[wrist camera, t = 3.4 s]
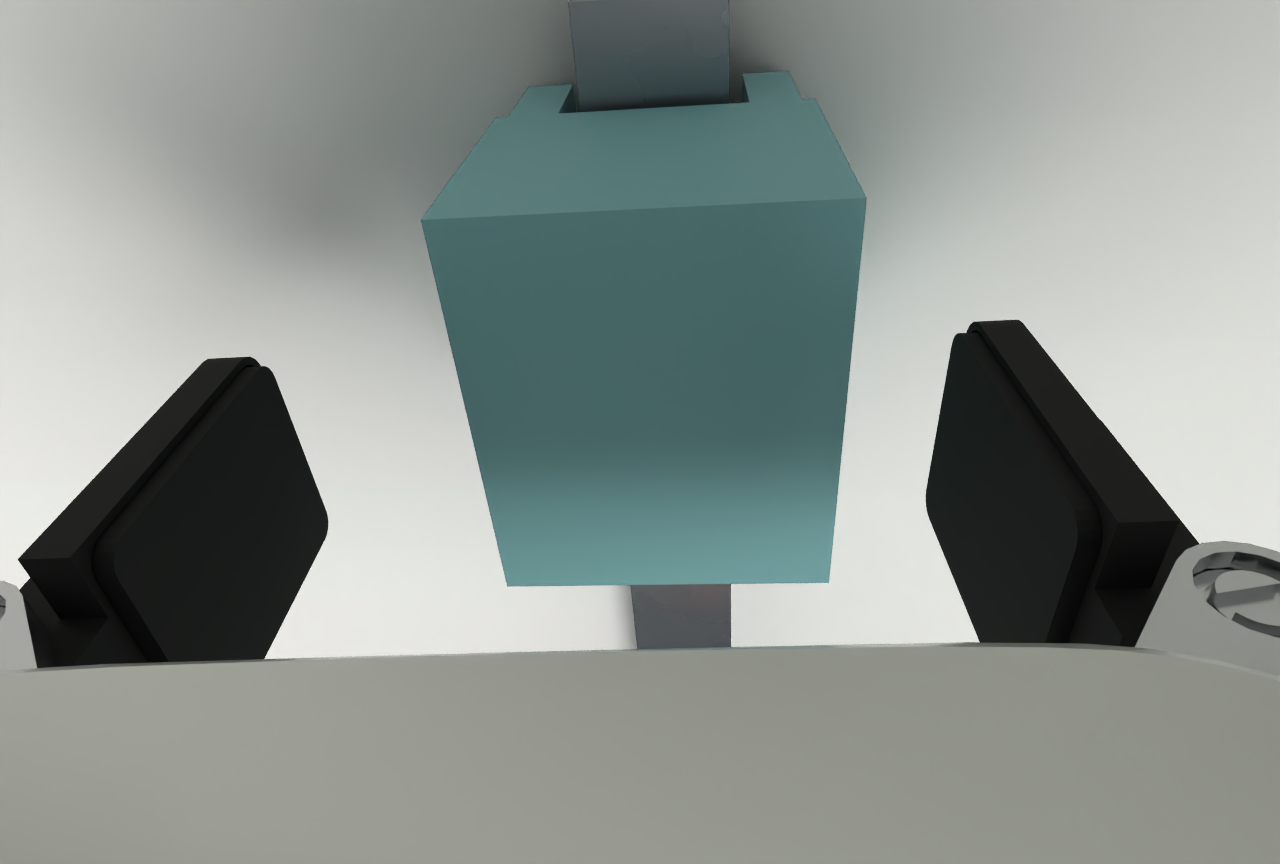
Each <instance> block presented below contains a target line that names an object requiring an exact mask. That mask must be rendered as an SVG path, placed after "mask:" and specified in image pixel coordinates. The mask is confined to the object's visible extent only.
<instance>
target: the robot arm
mask: <svg viewBox="0 0 1280 864" xmlns="http://www.w3.org/2000/svg"><path fill="white" fill-rule="evenodd" d="M926 507H927V513H928V516H929V519H930V521H931V524H932V526H933V529H934V531H935V534H936V536H937V539H938V541H939V543H940V546H941V548H942V551H943V553H944V556H945V558H946V561H947V563H948V565H949V568H950V570H951V573H952V575H953V578H954V580H955V583H956V585H957V587H958V590H959V592H960V595H961V597H962V600H963V602H964V605H965V607H966V609H967V612H968V614H969V617H970V619H971V622H972V624H973V626H974V629H975V631H976V634H977V636H978V639H979V641H980V643H974V642H963V643H913V644H863V645H814V646H764V647H716V648H671V649H628V650H587V651H546V652H506V653H468V654H430V655H393V656H357V657H321V658H287V659H264V658H265V656H266V654H267V652H268V650H269V648H270V646H271V644H272V642H273V641H274V639H275V637H276V635H277V633H278V631H279V629H280V627H281V625H282V623H283V621H284V619H285V617H286V615H287V613H288V611H289V609H290V607H291V605H292V603H293V601H294V599H295V597H296V595H297V593H298V591H299V589H300V587H301V585H302V583H303V581H304V580H305V578H306V576H307V574H308V572H309V570H310V568H311V566H312V564H313V562H314V560H315V558H316V556H317V554H318V552H319V550H320V548H321V546H322V544H323V542H324V540H325V538H326V535H327V531H328V516H327V512H326V509H325V507H324V504H323V502H322V499H321V496H320V494H319V491H318V488H317V486H316V483H315V481H314V478H313V475H312V473H311V470H310V468H309V465H308V462H307V460H306V457H305V455H304V452H303V449H302V447H301V444H300V441H299V439H298V436H297V434H296V431H295V428H294V426H293V423H292V421H291V418H290V415H289V413H288V410H287V408H286V405H285V402H284V400H283V397H282V394H281V392H280V389H279V387H278V384H277V381H276V379H275V376H274V375H273V373H272V371H271V370H270V369H269V368H268V367H265V366H261V365H260V364H259V363H258V362H257V361H256V359H254V358H252V357H236V358H216V359H207V360H206V361H204V362H203V363H202V364H201V365H200V366H199V367H198V368H197V369H196V370H195V371H194V372H193V374H192V375H191V376H190V377H189V378H188V379H187V380H186V381H185V382H184V383H183V384H182V385H181V386H180V387H179V388H178V389H177V391H176V392H175V393H174V394H173V395H172V396H171V397H170V398H169V399H168V400H167V401H166V402H165V403H164V404H163V405H162V406H161V408H160V409H159V410H158V411H157V412H156V413H155V414H154V415H153V416H152V417H151V418H150V419H149V420H148V421H147V422H146V424H145V425H144V426H143V427H142V428H141V429H140V430H139V431H138V432H137V433H136V434H135V435H134V436H133V437H132V438H131V439H130V441H129V442H128V443H127V444H126V445H125V446H124V447H123V448H122V449H121V450H120V451H119V452H118V453H117V454H116V455H115V457H114V458H113V459H112V460H111V461H110V462H109V463H108V464H107V465H106V466H105V467H104V468H103V469H102V470H101V471H100V472H99V474H98V475H97V476H96V477H95V478H94V479H93V480H92V481H91V482H90V483H89V484H88V485H87V486H86V487H85V488H84V490H83V491H82V492H81V493H80V494H79V495H78V496H77V497H76V498H75V499H74V500H73V501H72V502H71V503H70V504H69V505H68V507H67V508H66V509H65V510H64V511H63V512H62V513H61V514H60V515H59V516H58V517H57V518H56V519H55V520H54V521H53V522H52V524H51V525H50V526H49V527H48V528H47V529H46V530H45V531H44V532H43V533H42V534H41V535H40V536H39V537H38V538H37V540H36V541H35V542H34V543H33V544H32V545H31V546H30V547H29V548H28V549H27V550H26V551H25V552H24V553H23V554H22V555H21V557H20V558H19V559H18V560H19V562H20V563H21V565H22V566H23V568H24V569H25V570H26V572H27V573H28V575H29V576H30V579H29V580H28V581H27V582H26V583H25V584H24V585H23V587H22V588H21V589H20V590H19V589H18V588H17V586H15V585H12V584H10V583H8V582H5V581H0V864H1280V552H1277V551H1274V550H1270V549H1267V548H1263V547H1259V546H1256V545H1252V544H1247V543H1238V542H1229V541H1219V542H1208V543H1201V544H1199V543H1198V542H1197V540H1196V539H1195V538H1194V537H1193V535H1192V534H1191V533H1190V532H1189V530H1188V529H1187V528H1186V527H1185V525H1184V524H1183V523H1182V521H1181V520H1180V519H1179V518H1178V516H1177V515H1176V514H1175V513H1174V511H1173V510H1172V509H1171V508H1170V506H1169V505H1168V504H1167V503H1166V501H1165V500H1164V499H1163V498H1162V496H1161V495H1160V494H1159V493H1158V491H1157V490H1156V489H1155V488H1154V486H1153V485H1152V484H1151V483H1150V481H1149V480H1148V479H1147V477H1146V476H1145V475H1144V474H1143V472H1142V471H1141V470H1140V469H1139V467H1138V466H1137V465H1136V464H1135V462H1134V461H1133V460H1132V459H1131V457H1130V456H1129V455H1128V454H1127V452H1126V451H1125V450H1124V449H1123V447H1122V446H1121V445H1120V444H1119V442H1118V441H1117V440H1116V439H1115V437H1114V436H1113V435H1112V433H1111V432H1110V431H1109V430H1108V428H1107V427H1106V426H1105V425H1104V423H1103V422H1102V421H1101V420H1100V419H1099V418H1098V417H1097V416H1096V415H1095V413H1094V412H1093V411H1092V410H1091V408H1090V407H1089V406H1088V405H1087V403H1086V402H1085V401H1084V400H1083V398H1082V397H1081V396H1080V395H1079V393H1078V392H1077V391H1076V389H1075V388H1074V387H1073V386H1072V384H1071V383H1070V382H1069V381H1068V379H1067V378H1066V377H1065V376H1064V374H1063V373H1062V372H1061V371H1060V369H1059V368H1058V367H1057V366H1056V364H1055V363H1054V362H1053V360H1052V359H1051V358H1050V357H1049V355H1048V354H1047V353H1046V352H1045V350H1044V349H1043V348H1042V347H1041V345H1040V344H1039V343H1038V342H1037V340H1036V339H1035V338H1034V337H1033V335H1032V334H1031V333H1030V332H1029V330H1028V329H1027V328H1026V326H1025V325H1024V324H1023V323H1022V322H1021V321H1020V320H1003V321H982V322H973V323H972V324H971V325H970V326H969V328H968V330H967V333H958V334H957V335H955V337H954V339H953V343H952V347H951V353H950V359H949V364H948V370H947V376H946V381H945V387H944V393H943V398H942V404H941V410H940V415H939V421H938V427H937V433H936V438H935V444H934V450H933V455H932V461H931V467H930V472H929V478H928V484H927V489H926Z"/></svg>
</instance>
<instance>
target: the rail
mask: <svg viewBox="0 0 1280 864" xmlns="http://www.w3.org/2000/svg"><path fill="white" fill-rule="evenodd" d="M568 5H569V14H570V24H571V33H572V42H573V52H574V61H575V70H576V80H577V89H578V98H579V108H580V112H594V111H611V110H628V109H645V108H662V107H679V106H696V105H713V104H729V0H570V1H569V2H568ZM631 593H632V602H633V612H634V621H635V630H636V640H637V649H671V648H716V647H731V584H671V585H631Z"/></svg>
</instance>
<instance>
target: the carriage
mask: <svg viewBox="0 0 1280 864" xmlns="http://www.w3.org/2000/svg"><path fill="white" fill-rule="evenodd" d="M866 199H867V198H866V196H865V194H864V192H863V190H862V188H861V186H860V184H859V182H858V180H857V178H856V176H855V174H854V173H853V171H852V169H851V167H850V165H849V163H848V161H847V159H846V157H845V155H844V153H843V151H842V149H841V148H840V146H839V144H838V142H837V140H836V138H835V136H834V134H833V132H832V130H831V128H830V126H829V124H828V122H827V121H826V119H825V117H824V115H823V113H822V111H821V109H820V107H819V105H818V103H817V101H816V99H815V98H814V99H802V98H801V96H800V94H799V92H798V90H797V88H796V86H795V83H794V81H793V79H792V77H791V75H790V73H789V71H777V72H761V73H745V74H742V103H730V104H713V105H696V106H679V107H662V108H645V109H628V110H611V111H594V112H577V113H576V108H575V98H574V89H573V84H568V85H551V86H535V87H528V89H527V90H526V92H525V93H524V94H523V96H522V97H521V99H520V100H519V102H518V103H517V105H516V106H515V108H514V109H513V110H512V112H511V113H510V115H509V116H508V117H496V118H495V119H494V121H493V122H492V123H491V125H490V126H489V127H488V129H487V130H486V132H485V133H484V134H483V136H482V137H481V138H480V140H479V141H478V142H477V144H476V145H475V147H474V148H473V149H472V151H471V152H470V153H469V155H468V156H467V158H466V159H465V160H464V162H463V163H462V164H461V166H460V167H459V168H458V170H457V171H456V173H455V174H454V175H453V177H452V178H451V179H450V181H449V182H448V183H447V185H446V186H445V188H444V189H443V190H442V192H441V193H440V194H439V196H438V197H437V199H436V200H435V201H434V203H433V204H432V205H431V207H430V208H429V209H428V211H427V212H426V214H425V215H424V216H423V218H422V219H421V222H422V226H423V230H424V235H425V239H426V243H427V247H428V252H429V256H430V260H431V264H432V269H433V273H434V277H435V281H436V286H437V290H438V294H439V298H440V303H441V307H442V311H443V315H444V320H445V324H446V328H447V332H448V337H449V341H450V345H451V349H452V354H453V358H454V362H455V366H456V371H457V375H458V379H459V383H460V388H461V392H462V396H463V400H464V405H465V409H466V413H467V417H468V422H469V426H470V430H471V434H472V439H473V443H474V447H475V451H476V455H477V460H478V464H479V468H480V472H481V477H482V481H483V485H484V489H485V494H486V498H487V502H488V506H489V511H490V515H491V519H492V523H493V528H494V532H495V536H496V540H497V545H498V549H499V553H500V557H501V562H502V566H503V570H504V574H505V579H506V583H507V586H585V585H671V584H757V583H829V575H830V565H831V555H832V545H833V535H834V524H835V514H836V504H837V494H838V484H839V474H840V464H841V453H842V443H843V433H844V423H845V413H846V403H847V392H848V382H849V372H850V362H851V352H852V342H853V331H854V321H855V311H856V301H857V291H858V281H859V270H860V260H861V250H862V240H863V230H864V220H865V210H866Z"/></svg>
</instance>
